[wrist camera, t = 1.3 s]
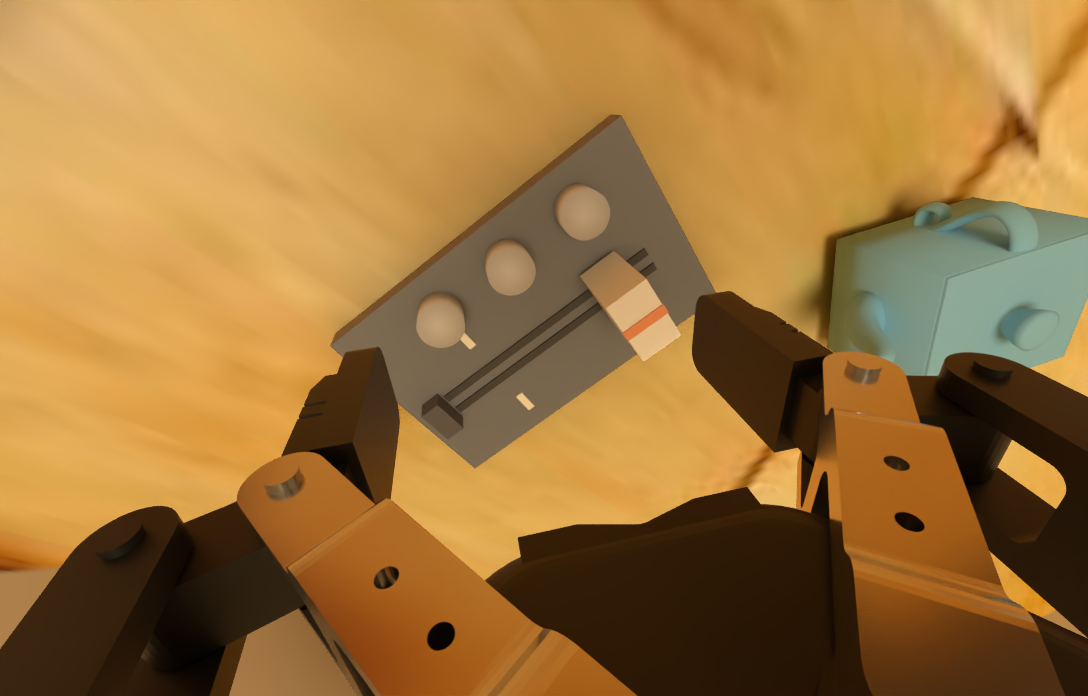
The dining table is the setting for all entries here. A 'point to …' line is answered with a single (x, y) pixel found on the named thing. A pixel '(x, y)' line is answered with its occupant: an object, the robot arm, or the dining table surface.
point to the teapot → (961, 285)
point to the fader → (631, 305)
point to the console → (529, 298)
